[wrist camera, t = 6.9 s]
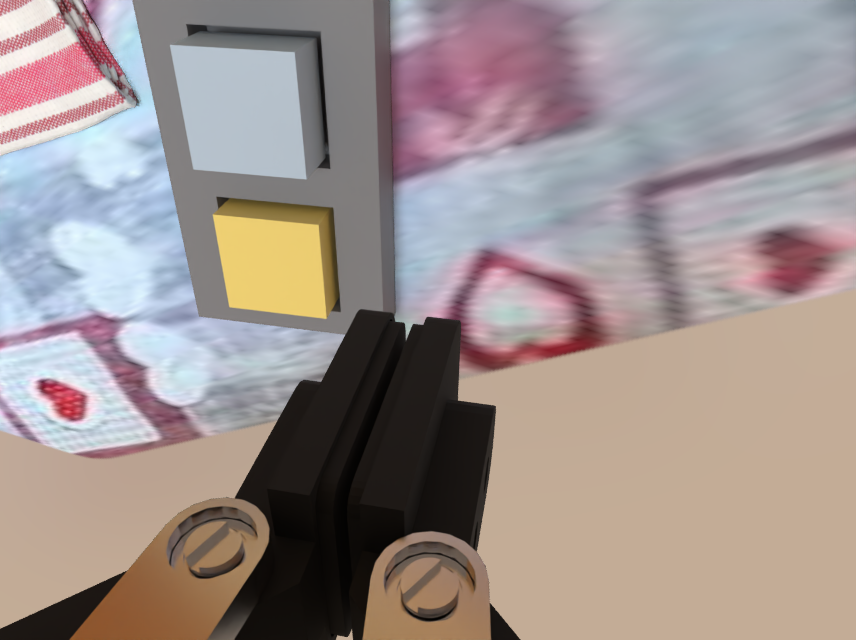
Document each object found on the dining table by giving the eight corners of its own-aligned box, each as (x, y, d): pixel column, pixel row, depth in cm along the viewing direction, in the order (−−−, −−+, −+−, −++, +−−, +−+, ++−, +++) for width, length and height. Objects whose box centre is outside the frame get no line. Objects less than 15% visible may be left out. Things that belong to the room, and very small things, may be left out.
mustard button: (335, 201, 39) (318, 225, 37) (341, 292, 42) (326, 318, 40) (235, 192, 40) (212, 214, 38) (249, 281, 43) (229, 307, 41)
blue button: (316, 37, 33) (294, 52, 31) (325, 157, 37) (306, 179, 34) (199, 31, 34) (169, 44, 32) (219, 148, 37) (193, 169, 35)
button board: (384, -253, 29) (364, -263, 26) (395, 312, 44) (383, 339, 42) (119, -251, 30) (77, -259, 28) (219, 291, 46) (199, 316, 44)
